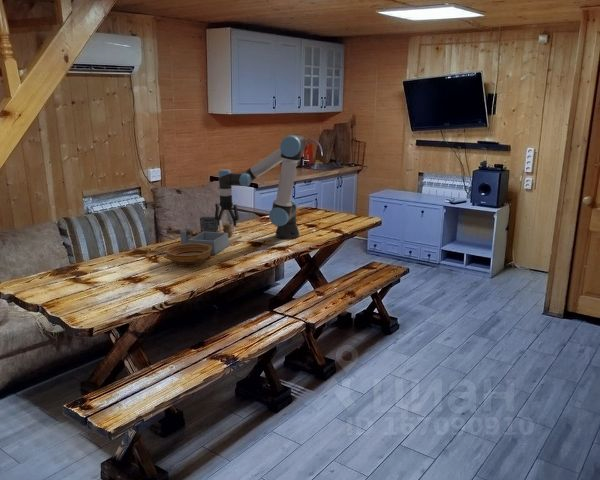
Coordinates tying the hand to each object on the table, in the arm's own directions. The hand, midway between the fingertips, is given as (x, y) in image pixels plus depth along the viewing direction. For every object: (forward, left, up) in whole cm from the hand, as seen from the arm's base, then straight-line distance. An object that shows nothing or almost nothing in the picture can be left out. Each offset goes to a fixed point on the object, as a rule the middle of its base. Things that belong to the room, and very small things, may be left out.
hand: (227, 230), depth 335 cm
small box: (+17, -10, -5) cm, 20 cm away
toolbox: (+3, +27, -5) cm, 28 cm away
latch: (+16, +31, +5) cm, 35 cm away
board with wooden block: (0, +5, -5) cm, 7 cm away
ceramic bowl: (-1, +54, -5) cm, 55 cm away
